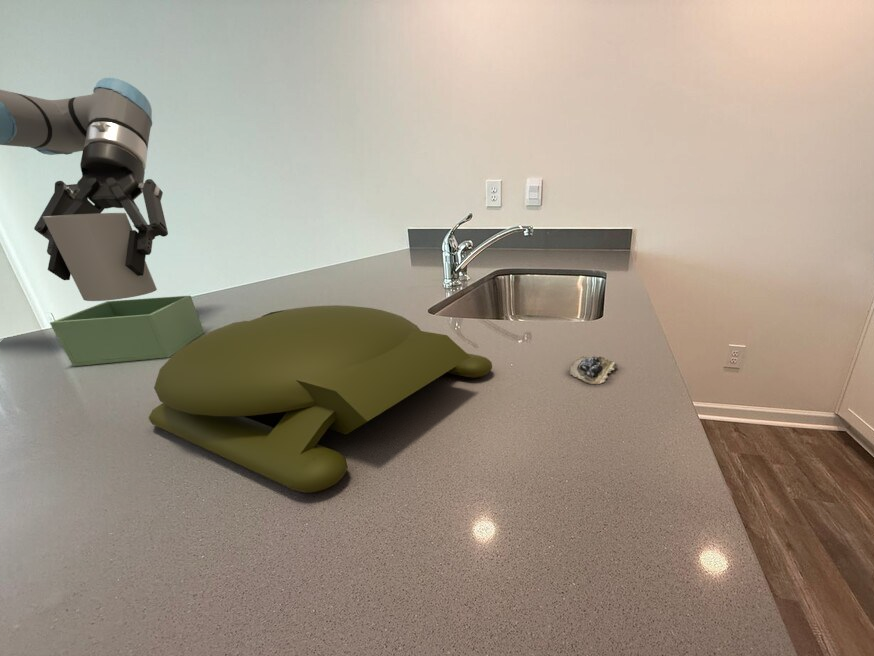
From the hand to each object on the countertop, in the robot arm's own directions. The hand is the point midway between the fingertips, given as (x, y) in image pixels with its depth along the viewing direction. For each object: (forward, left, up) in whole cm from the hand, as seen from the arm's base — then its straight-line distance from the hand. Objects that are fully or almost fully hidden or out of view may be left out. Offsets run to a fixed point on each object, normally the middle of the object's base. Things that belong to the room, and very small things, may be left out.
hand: (97, 272), depth 62 cm
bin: (0, +3, -13) cm, 14 cm away
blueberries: (+70, -28, -14) cm, 77 cm away
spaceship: (+34, -24, -14) cm, 44 cm away
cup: (0, +3, -4) cm, 5 cm away
